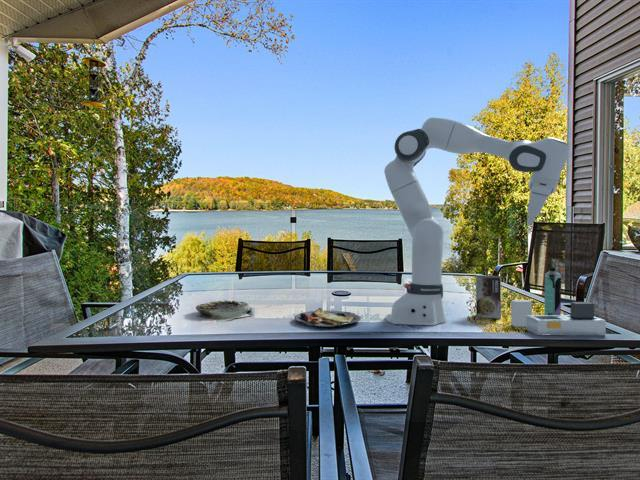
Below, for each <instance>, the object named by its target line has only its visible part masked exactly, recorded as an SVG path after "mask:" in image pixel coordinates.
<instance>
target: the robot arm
mask: <svg viewBox="0 0 640 480" xmlns="http://www.w3.org/2000/svg"><path fill="white" fill-rule="evenodd" d="M569 147H570V146H569V145H568V144H567V142H566V141H564V140H561V139H560V138H559V139H558V138H556V137H554V136H553V137H552V136H547V137H545V138H543V139H539V140H537V141H530V140H527V139H521V140H513V141H512V140H506V139H502V138H499V137H495V136H491V135H488V134H485V133H483V132H481V131H480V130H478V129H476V128H475V127H473V126H471V125H468V124H466V123H463V122H460V121H456V120H454V119H453V120H452V119H448V118H443V117H429V118H427V119H426V120H425V121H424V123H423V124H422V126H421V128H416V129H413V130H408V131H405V132H403V133H401V134H400V135H399V136H398V137H397V138H396V139H395V142H394V151H395V154H396V156H395V158H394V159H393V160H392V161H390V162H389V163H387V165H386V166H384V167H385V168H384V175H385V180H386V183H387V186H388V189H389V191H390V194H391V195H392V198H393V199H394V201H395V204H396V206H397V208H398V210H399V212H400V214H401V217H402V218H403V220H404V223H405V225H406V228H407V229H408V231H409V233H410V236H411V238H412V240H411V241H412V244H411V249H412V251H411V282H410V283H407V282H405V283H404V284H403V287H404V289H406V293H404V294H403V295H401V296H400V297H399V298H398V299H396V300H395V301H394V302H393V304H392V307H391V313H388V314H386V315H385V320H386V321H387V322H388V323H390V324H394V325H409V326H410V325H413V326H437V325H438V324H443V323H446V321H447V319H446V317H445V312H444V305H443V296H444V285H443V283H442V282H443V281H442V278H443V277H442V274H443V273H442V272H443V271H442V268H443V267H442V266H443V265H442V264H443V262H442V260H443V249H444V228H443V225H441V223H440V222H439V221H437V220H436V218H435V216H434V213H433V211H432V209H431V205H430V203H429V201H428V198H427V196H426V194H425V192H424V190H423V187H422V186H421V183H420V181H419V179H418V178H417V175H416V173H415V171H414V167H415V166H417V164H419V163H420V162H421V161H422V160H423V158H424V157H425V155H426V153H427V150H429V149H438V150H442V151H445V152H448V153H452V154H458V155H459V154H460V155H467V154H471V153H485V154H488V155H490V156H491V155H492V156H496V157H499V158H503V159H504V160H506V161H508V163H509V166H510V167H511V168H512V169H514V170H515V171H517V172H522V173H524V172H525V173H527V172H528V173H529V172H530V173H531V177H530V179H529V183H528V186H527V187H528V189H529V192H530V197H529V199H528V201H529V202H528V205H527V215H528V217H527V220H526V225H527V226H533V223H534V221H535V218H536V217H538V216H539V215H540V214H541V211H542V209H543V207H544V205H545V204H546V202H547V200H548V197H550V196H551V195H552V194H555V193H556V190H557V189H558V184H559V182H560V178H561V172H562V171H563V170H564V168H565V165H566V162H567V159H568V155H569V150H570V148H569Z"/></svg>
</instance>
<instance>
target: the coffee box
mask: <svg viewBox="0 0 640 480" xmlns="http://www.w3.org/2000/svg"><path fill="white" fill-rule="evenodd" d="M475 285H476V286H475V288H476V289H475V290H476V291H475V293H476V294H475V301H476V302H475V304H476V306H475V307H476V309H475V310H476V311H475V313H476V314H475V315H476V316H475V317H476V318H482V319H483V318H484V319H498V320H500V319H501V318H502V276H501V275H480V274H478V275H477V276H475Z"/></svg>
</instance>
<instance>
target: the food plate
mask: <svg viewBox="0 0 640 480" xmlns="http://www.w3.org/2000/svg"><path fill="white" fill-rule="evenodd" d="M293 318H294V320H295V321H296V322H297V321H298V322H301V323H303V324H305V325H307V326H308V327H317V326H318V327H319V328H336V327H335V326H339V327H343V326H346V324H342V323H348V324H347V325H349V324H350V325H351V324H353V323H358V322H361V320H362V316H360V315H358V314H355V312H349V311H341V310H324V309H323V308H322V307H319V308H317V309H316V310H311V311H304V312H302V313H301V312H300V313H298V314H296V315H295V316H293ZM342 325H343V326H342Z"/></svg>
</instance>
